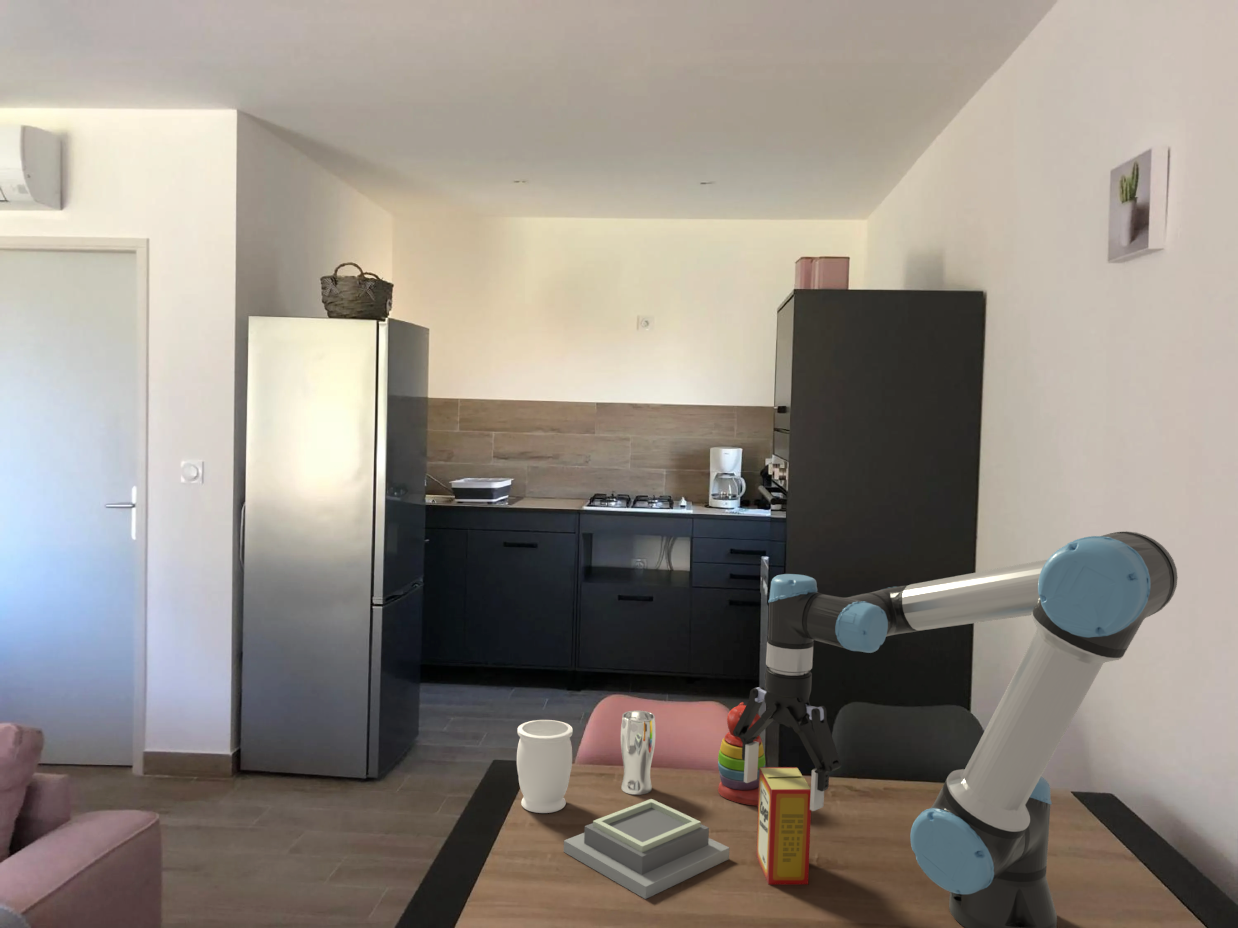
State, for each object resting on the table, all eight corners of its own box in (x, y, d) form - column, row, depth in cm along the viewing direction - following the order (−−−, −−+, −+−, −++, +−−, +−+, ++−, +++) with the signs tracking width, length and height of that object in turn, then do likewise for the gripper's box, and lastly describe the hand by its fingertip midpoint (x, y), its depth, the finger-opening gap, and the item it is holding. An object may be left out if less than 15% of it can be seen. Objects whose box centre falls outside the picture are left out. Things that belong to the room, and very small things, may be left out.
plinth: (729, 858, 157) (730, 824, 156) (645, 898, 143) (646, 861, 143) (646, 818, 171) (647, 787, 171) (563, 851, 158) (564, 817, 157)
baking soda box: (808, 884, 149) (811, 787, 148) (768, 884, 149) (771, 787, 148) (793, 855, 159) (797, 764, 158) (756, 855, 158) (759, 764, 157)
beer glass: (657, 784, 187) (659, 712, 186) (649, 798, 181) (651, 723, 180) (624, 779, 189) (626, 708, 188) (615, 793, 182) (617, 718, 182)
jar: (506, 811, 173) (508, 733, 172) (528, 790, 183) (529, 716, 182) (559, 820, 170) (561, 740, 169) (578, 798, 180) (580, 722, 179)
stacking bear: (766, 807, 178) (770, 717, 177) (714, 801, 180) (717, 712, 179) (769, 785, 188) (772, 700, 187) (719, 780, 190) (722, 695, 189)
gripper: (867, 683, 145) (860, 813, 147) (744, 648, 163) (738, 764, 165) (840, 692, 140) (833, 827, 142) (716, 655, 158) (711, 775, 160)
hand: (782, 793), depth 153 cm, fingers open, 13 cm apart
